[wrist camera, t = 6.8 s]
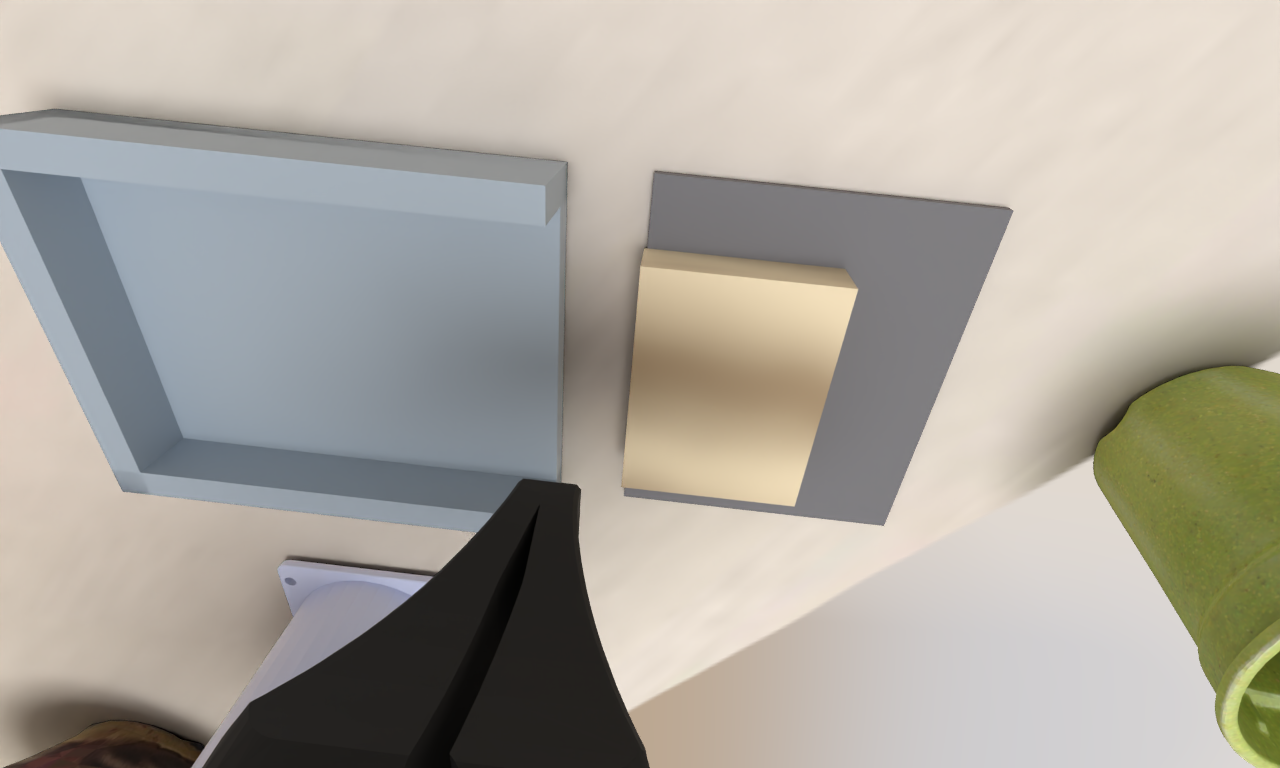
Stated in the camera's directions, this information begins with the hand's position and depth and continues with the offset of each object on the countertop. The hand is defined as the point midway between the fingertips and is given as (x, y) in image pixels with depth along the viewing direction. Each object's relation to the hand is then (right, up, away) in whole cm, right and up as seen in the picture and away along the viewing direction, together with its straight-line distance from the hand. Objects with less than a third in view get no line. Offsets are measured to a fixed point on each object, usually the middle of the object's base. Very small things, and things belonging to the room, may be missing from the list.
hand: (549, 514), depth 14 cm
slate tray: (-8, +5, +6) cm, 11 cm away
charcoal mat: (+7, +3, +6) cm, 10 cm away
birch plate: (+5, +3, +6) cm, 8 cm away
